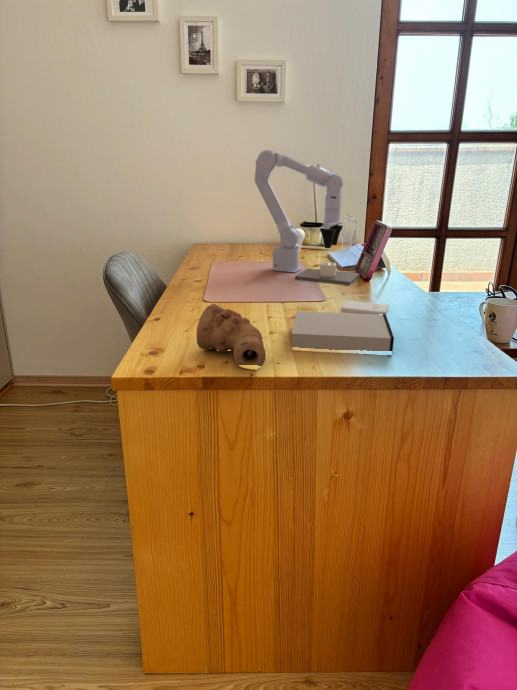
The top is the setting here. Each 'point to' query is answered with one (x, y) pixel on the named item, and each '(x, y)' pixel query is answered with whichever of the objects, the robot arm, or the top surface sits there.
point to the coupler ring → (328, 269)
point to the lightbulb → (300, 237)
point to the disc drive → (342, 331)
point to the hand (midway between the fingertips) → (330, 246)
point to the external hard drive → (365, 307)
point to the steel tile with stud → (338, 278)
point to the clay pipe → (230, 335)
